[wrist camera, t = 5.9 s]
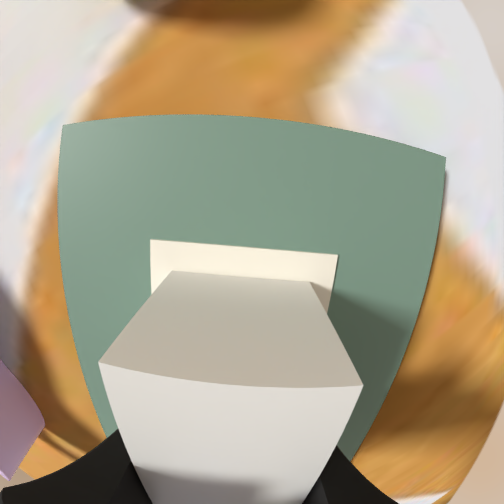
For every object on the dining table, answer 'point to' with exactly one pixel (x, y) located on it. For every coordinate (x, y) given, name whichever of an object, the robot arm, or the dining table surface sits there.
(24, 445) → the purple lobed piece
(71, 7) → the dining table surface
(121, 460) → the robot arm
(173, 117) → the board
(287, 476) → the plug housing
